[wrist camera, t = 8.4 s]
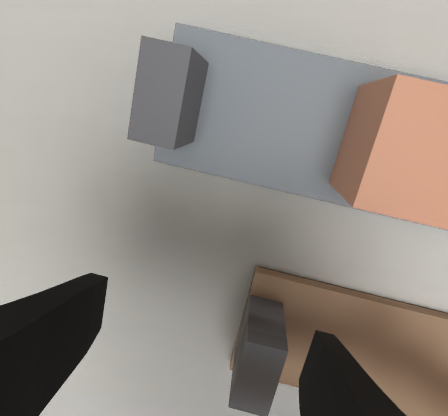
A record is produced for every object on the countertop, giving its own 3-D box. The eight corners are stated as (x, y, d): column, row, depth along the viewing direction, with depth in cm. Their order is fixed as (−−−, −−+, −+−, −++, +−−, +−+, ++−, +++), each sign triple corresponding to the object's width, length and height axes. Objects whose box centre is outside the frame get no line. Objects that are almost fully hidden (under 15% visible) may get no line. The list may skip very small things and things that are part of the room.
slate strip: (472, 233, 19) (547, 275, 14) (157, 158, 20) (122, 173, 15) (531, 103, 17) (642, 99, 12) (179, 26, 18) (147, -8, 13)
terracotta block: (422, 205, 18) (480, 237, 13) (328, 183, 18) (352, 207, 14) (461, 108, 17) (541, 105, 12) (359, 85, 17) (397, 73, 12)
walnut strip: (505, 432, 22) (576, 525, 17) (230, 360, 23) (222, 429, 18) (557, 340, 20) (656, 415, 15) (256, 266, 21) (254, 314, 16)
